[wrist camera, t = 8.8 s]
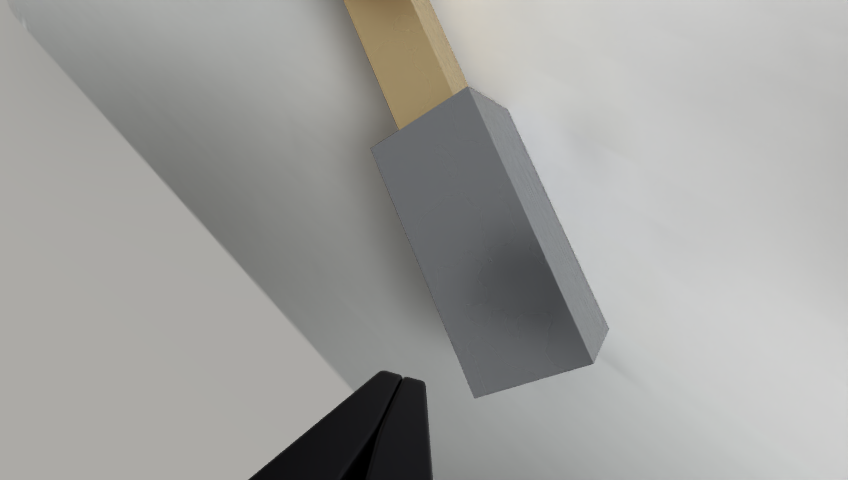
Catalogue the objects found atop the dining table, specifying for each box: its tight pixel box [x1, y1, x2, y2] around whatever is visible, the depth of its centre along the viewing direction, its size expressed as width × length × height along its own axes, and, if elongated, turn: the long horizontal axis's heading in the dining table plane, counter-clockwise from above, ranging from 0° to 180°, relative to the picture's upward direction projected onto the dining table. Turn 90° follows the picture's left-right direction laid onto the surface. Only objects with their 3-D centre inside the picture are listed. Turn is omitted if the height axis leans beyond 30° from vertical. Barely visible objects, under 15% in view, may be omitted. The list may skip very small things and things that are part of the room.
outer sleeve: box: [371, 86, 609, 398], centre depth 18 cm, size 10×4×5 cm, turn 26°
